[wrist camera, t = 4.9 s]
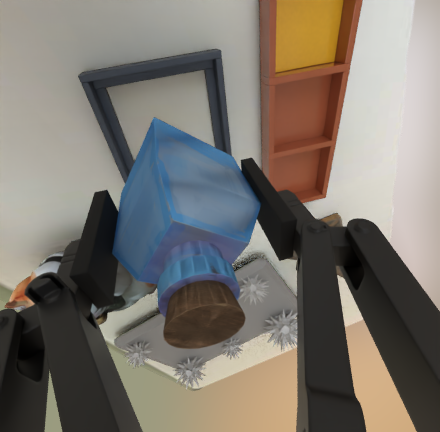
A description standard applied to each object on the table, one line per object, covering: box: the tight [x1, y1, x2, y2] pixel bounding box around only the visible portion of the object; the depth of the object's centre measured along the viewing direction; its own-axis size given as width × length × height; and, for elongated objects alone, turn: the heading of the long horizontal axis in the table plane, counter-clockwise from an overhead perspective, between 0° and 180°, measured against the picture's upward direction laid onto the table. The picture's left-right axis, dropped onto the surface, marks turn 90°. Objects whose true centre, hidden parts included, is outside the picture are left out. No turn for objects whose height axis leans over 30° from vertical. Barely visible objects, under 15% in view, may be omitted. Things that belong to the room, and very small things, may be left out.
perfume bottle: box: [112, 117, 261, 349], centre depth 14 cm, size 6×6×12 cm
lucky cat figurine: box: [5, 251, 157, 325], centre depth 32 cm, size 15×12×14 cm
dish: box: [259, 0, 362, 203], centre depth 29 cm, size 26×9×2 cm, turn 7°
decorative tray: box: [114, 258, 297, 389], centre depth 51 cm, size 35×26×10 cm
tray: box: [78, 49, 232, 183], centre depth 27 cm, size 13×13×2 cm
